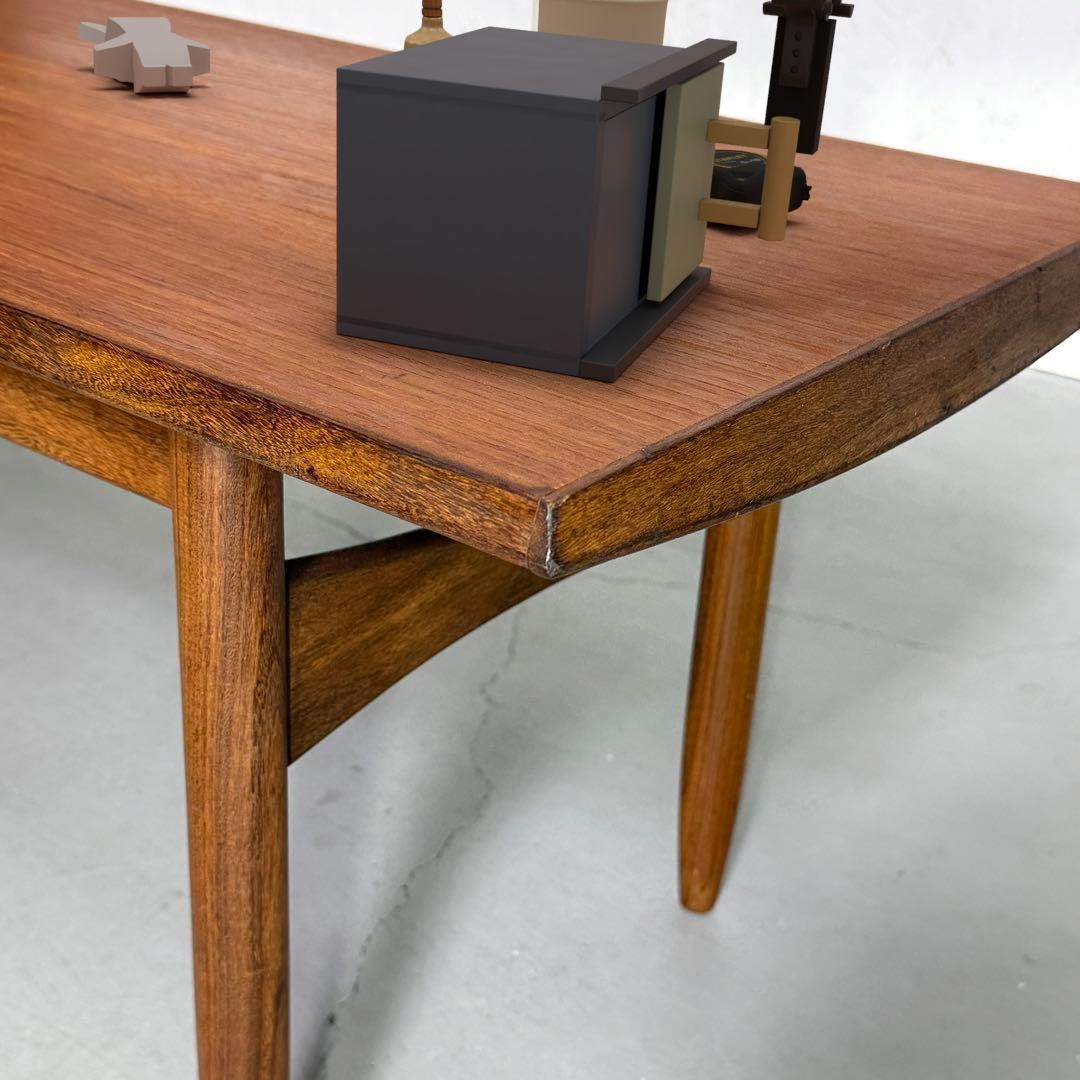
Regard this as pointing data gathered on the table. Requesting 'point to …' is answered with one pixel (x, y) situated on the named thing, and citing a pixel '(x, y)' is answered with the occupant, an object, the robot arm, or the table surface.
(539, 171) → the cabinet
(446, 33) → the hand bell
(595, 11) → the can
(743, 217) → the door
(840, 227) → the table surface
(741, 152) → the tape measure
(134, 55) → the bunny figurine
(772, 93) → the robot arm
